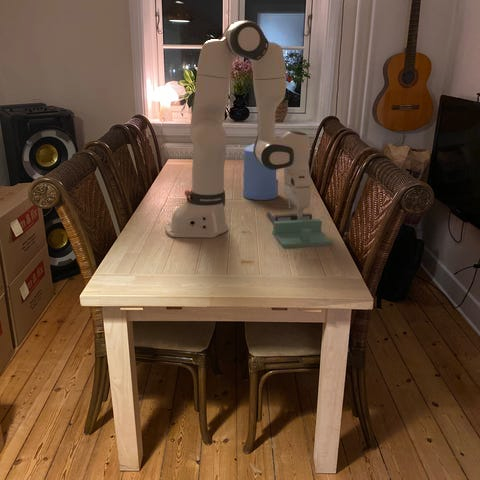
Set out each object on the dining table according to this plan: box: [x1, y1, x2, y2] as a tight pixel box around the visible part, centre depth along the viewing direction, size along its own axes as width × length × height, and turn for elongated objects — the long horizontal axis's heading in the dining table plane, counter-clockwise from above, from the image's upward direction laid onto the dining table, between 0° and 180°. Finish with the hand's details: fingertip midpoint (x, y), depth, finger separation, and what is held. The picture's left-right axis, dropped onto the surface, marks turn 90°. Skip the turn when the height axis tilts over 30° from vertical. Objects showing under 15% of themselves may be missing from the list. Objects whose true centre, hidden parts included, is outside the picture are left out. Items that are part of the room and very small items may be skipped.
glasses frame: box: [265, 211, 313, 225], centre depth 193 cm, size 14×13×4 cm
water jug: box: [242, 142, 279, 201], centre depth 220 cm, size 16×16×28 cm
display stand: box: [271, 218, 333, 249], centre depth 174 cm, size 17×14×5 cm
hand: (295, 212), depth 187 cm, fingers open, 8 cm apart
